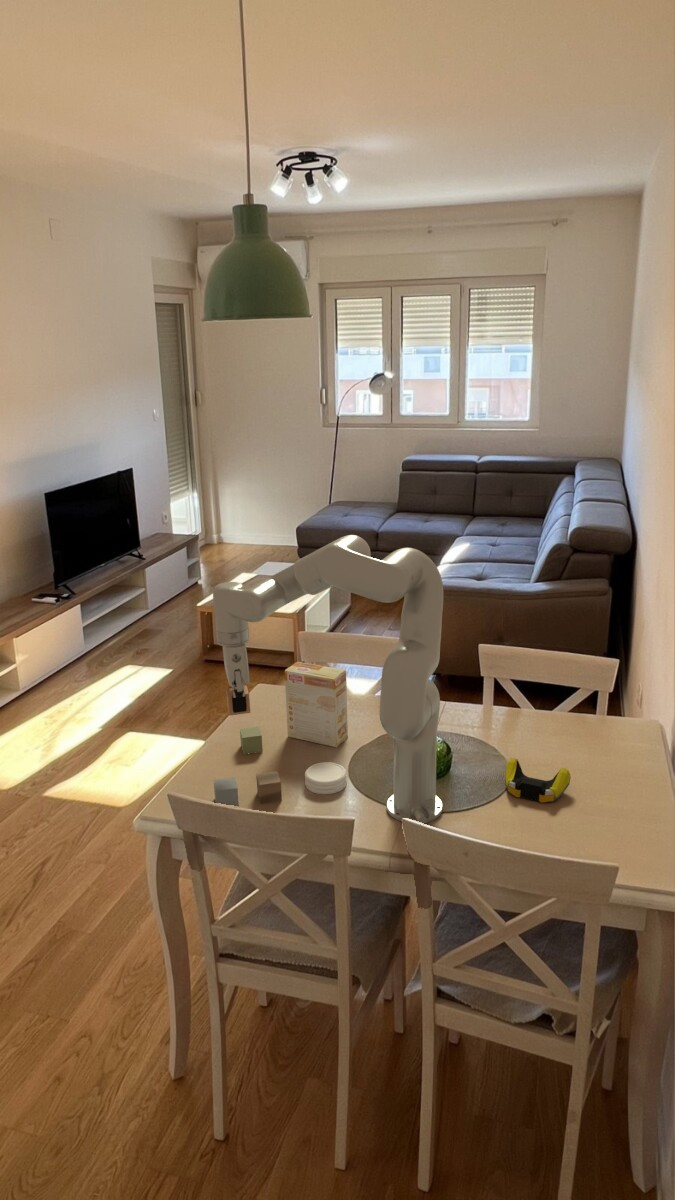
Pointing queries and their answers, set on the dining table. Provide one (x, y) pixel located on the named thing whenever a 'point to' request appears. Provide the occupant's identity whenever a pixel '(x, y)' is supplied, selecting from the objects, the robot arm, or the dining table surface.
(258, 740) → the green cube
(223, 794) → the slate-grey block
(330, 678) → the coffeecake box
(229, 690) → the terracotta block
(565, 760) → the dining table surface
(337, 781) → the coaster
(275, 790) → the walnut block
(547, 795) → the gaming controller
